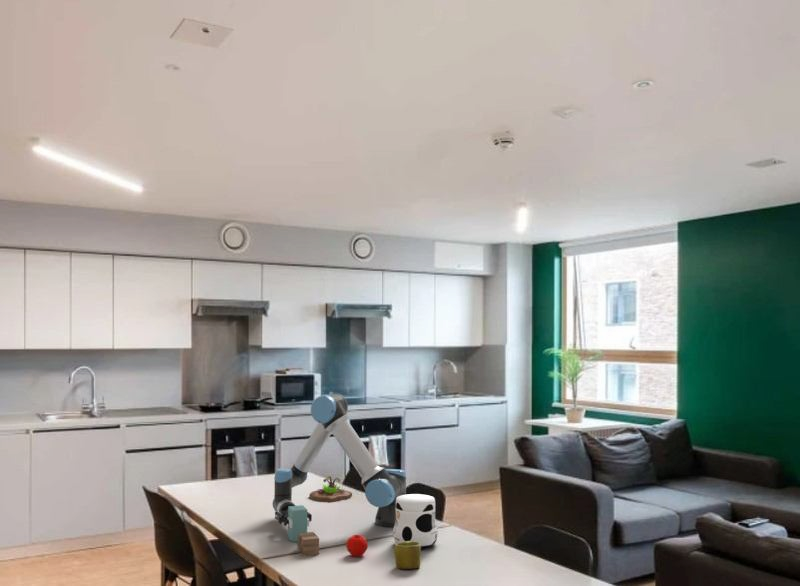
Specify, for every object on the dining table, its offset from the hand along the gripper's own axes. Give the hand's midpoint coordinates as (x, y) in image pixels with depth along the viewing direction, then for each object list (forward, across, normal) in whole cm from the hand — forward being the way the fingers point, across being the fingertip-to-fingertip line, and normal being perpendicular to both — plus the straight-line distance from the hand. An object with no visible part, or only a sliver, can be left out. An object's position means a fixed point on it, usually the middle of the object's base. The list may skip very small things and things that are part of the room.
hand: (299, 523), depth 279 cm
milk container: (+20, -41, -7) cm, 46 cm away
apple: (+25, -16, -7) cm, 30 cm away
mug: (+42, -30, -7) cm, 52 cm away
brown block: (+14, 0, -7) cm, 16 cm away
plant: (-72, -33, -8) cm, 79 cm away
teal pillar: (-4, 0, -7) cm, 8 cm away
